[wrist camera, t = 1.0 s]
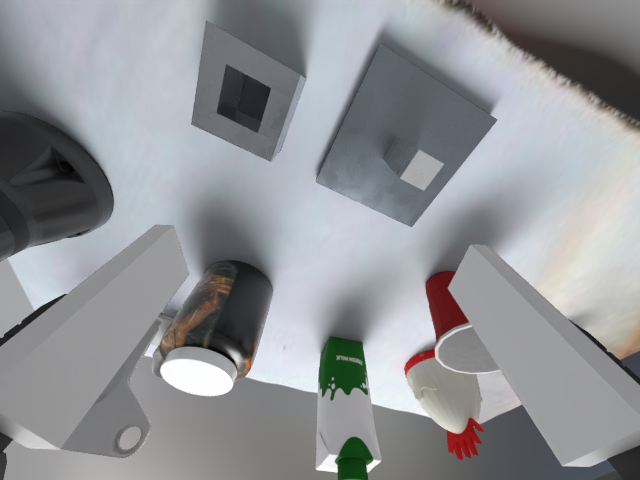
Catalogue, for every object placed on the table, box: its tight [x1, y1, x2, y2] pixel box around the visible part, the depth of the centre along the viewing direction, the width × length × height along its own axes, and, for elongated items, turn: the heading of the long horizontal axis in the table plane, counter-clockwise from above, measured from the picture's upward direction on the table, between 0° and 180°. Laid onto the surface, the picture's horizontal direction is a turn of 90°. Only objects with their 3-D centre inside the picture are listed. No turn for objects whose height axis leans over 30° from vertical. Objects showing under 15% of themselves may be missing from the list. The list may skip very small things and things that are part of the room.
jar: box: [159, 261, 272, 396], centre depth 33 cm, size 12×12×15 cm
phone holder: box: [61, 314, 174, 458], centre depth 38 cm, size 17×10×18 cm, turn 66°
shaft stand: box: [316, 44, 497, 227], centre depth 23 cm, size 14×14×8 cm
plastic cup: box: [426, 271, 501, 374], centre depth 32 cm, size 11×11×12 cm
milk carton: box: [316, 337, 382, 480], centre depth 40 cm, size 9×9×20 cm
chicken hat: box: [404, 349, 484, 460], centre depth 44 cm, size 14×14×15 cm
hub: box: [191, 21, 306, 162], centre depth 22 cm, size 8×8×6 cm
